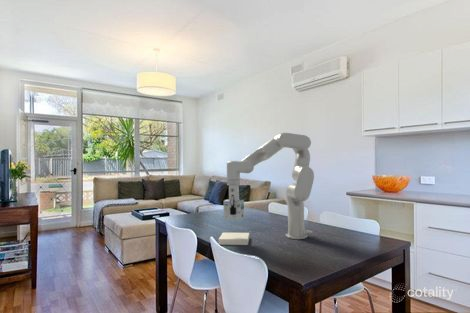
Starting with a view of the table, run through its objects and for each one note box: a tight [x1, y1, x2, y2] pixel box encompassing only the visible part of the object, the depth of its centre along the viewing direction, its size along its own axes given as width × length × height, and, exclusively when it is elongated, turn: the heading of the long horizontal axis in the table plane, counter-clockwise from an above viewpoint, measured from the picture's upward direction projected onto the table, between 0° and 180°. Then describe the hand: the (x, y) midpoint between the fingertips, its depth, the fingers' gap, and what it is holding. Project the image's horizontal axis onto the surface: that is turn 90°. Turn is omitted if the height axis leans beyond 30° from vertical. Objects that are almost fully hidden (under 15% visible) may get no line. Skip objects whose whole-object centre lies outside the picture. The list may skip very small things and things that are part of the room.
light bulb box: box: [223, 199, 245, 221], centre depth 157 cm, size 11×7×11 cm, turn 75°
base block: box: [218, 232, 250, 246], centre depth 157 cm, size 16×14×3 cm
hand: (233, 213), depth 157 cm, fingers closed on light bulb box, 7 cm apart
